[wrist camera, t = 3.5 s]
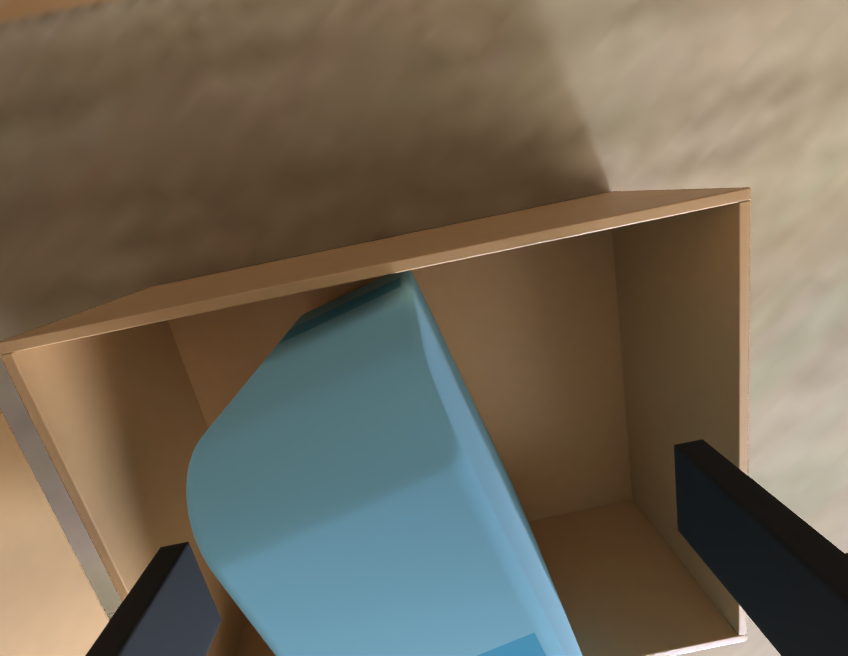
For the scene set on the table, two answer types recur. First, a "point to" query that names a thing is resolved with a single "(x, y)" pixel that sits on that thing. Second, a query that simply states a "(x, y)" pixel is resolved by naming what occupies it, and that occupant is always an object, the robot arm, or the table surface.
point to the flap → (39, 569)
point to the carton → (484, 378)
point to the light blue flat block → (370, 497)
